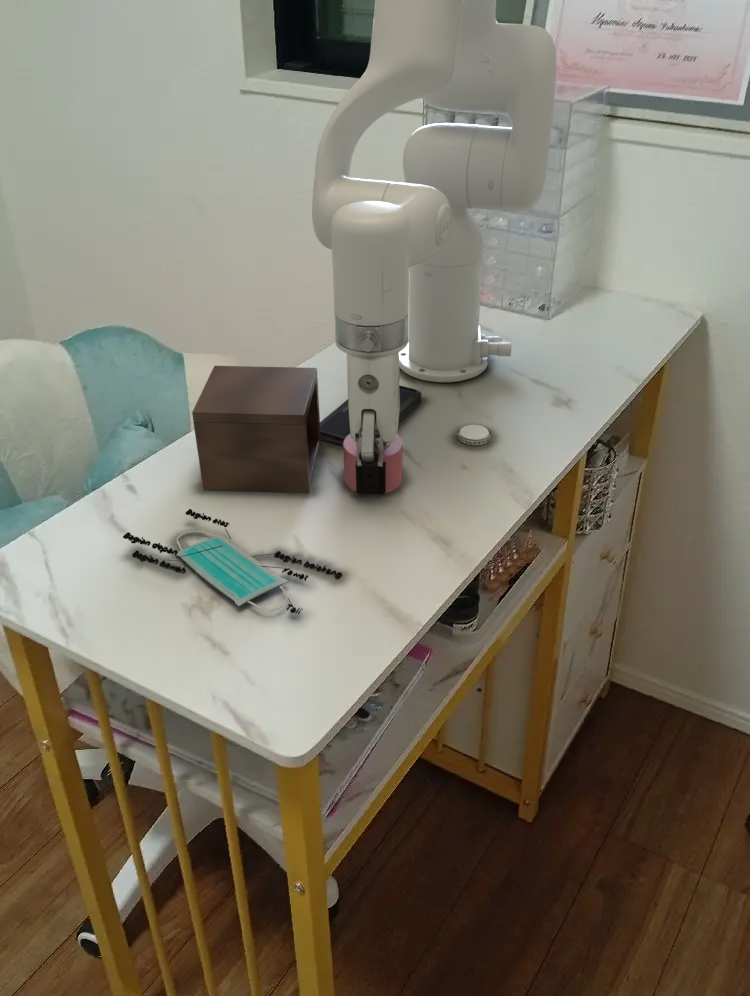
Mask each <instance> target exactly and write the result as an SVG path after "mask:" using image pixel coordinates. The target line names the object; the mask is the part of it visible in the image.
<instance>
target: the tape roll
mask: <svg viewBox="0 0 750 996" xmlns="http://www.w3.org/2000/svg"><path fill="white" fill-rule="evenodd" d="M374 436H376V437H380V433H379V431H375V435H374ZM403 443H404V441H403V438H402V437H401V435H399V434H398V433H397V438H396V440H395V441H394V442H392V443H390V442H384V441H383V462H386V491H385V494H390V493H391V492H393V491H395V490H397V489H398V488H399V487H400V486H401V485H402V482H403V468H404V467H403V465H404V464H403V463H404V462H403V459H404V458H403V457H404V456H403V450H404V446H403V445H404V444H403ZM342 450H343V474H344V475H343V478H344V483H345V485H346V487H348V488H349V489H350V490H351V491H352V492H355V493H357V492H356V461H357V441H356V442H355V441H354V440H353V439H352V438H351V434H349V435H348V436H347V437H346V438H345V440H344V442H343V446H342ZM374 451H377V454H378V443H374ZM385 494H384V495H385ZM364 495H366V496H371V495H370V494H364Z"/></svg>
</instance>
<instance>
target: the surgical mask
mask: <svg viewBox="0 0 750 996" xmlns="http://www.w3.org/2000/svg"><path fill="white" fill-rule="evenodd" d="M185 515H186V516H190V517H192V518H193V519H194V520H198V519H201V521H206V522H207V521H208V522H210V521H211V520H212V524H217V525H218V526H222V527H224V529H225V532H226V533H227V535H228V537H229V538H227V537H225V535H224V534H222V533H221V534H219V535H217V534H214V533H212V532H210V531H206V530H187V531H185V532H182V533H181V534H179V535H178V536H177V537H176V545H177V546H178V548H179V550H177V549H173V548H171V547H170V548H168V546H163V545H162V544H161V542H159V543H157V542H156V543H153V544H152V543H151V541H150V540H146V538H144V537H143V536H141V538H140V537H139V536H135V535H133V534H131V532H129V531H127V532H126V533H125V534H124V535H123V536H122V538H123V539H125V540H127V539H128V541H130V543H131V544H133V545H134V544H136V543H137V544H140V545H141V546H143V545H144V546H147V547H149V546H150V545H151V546H152V549H153V550H156V549H157V551H159V553H160V554H161V553H167V554H169V555H174V556H176V557H179V558H180V559H181V562H183V563H185V564H187V566H188V567H190V569H192V570H193V571H194V573H196V574H197V575H199V576H200V577H201V578H202V579H203V580H204V581H205V582H207V583H209V585H211V586H212V587H213V588H215V589H216V590H217V591H219V593H221V594H223V596H225V597H226V598H228V599H229V600H231V601H233V602H234V604H235V605H236V606H238V607H240V606H242V605H243V604H247V603H248V604H250V605H252V606H253V607H255V608H256V609H258V610H260V611H264V612H274V611H277V610H279V609H281V608H282V607H283V606H284V605H285V604H286V603H287V601H288V602H289V603H288V605H287V608H286V611H287V612H288V611H289V613H291V614H297V615H298V616H299V615H300V613H301V612H302V611H303V607H301V608H300V607H298V608H296V607H295V606H294V605H293V604H292V602H291V600H290V599H289V595H288V593H287V591H286V590H285V589H284V587H283V586H282V585H284V584H287V583H288V582H289V580H287V579H286V578H283V577H281V576H280V575H279V574H277V573H275V572H274V571H273V570H272V569H270V568H269V566H266V565H264V564H262V563H261V562H260V561H258V560H257V559H256V558H254V557H256V555H250V554H249V553H247V552H246V551H245V550H243V549H242V548H241V547H240V546H238V545H237V544H235V543H234V542H232V541H231V539H232V538H231V536H230V534H229V532H228V530H227V528H228V526H230V523H229V522H227V521H225V520H222V519H218V518H214V519H212V516H207V515H206V514H205V513H204V512H203V513H200V512H195V511H193V509H191V508H188V509H187V510H186V511H185ZM190 533H202V534H207V535H209V536H212V537H211V538H207V539H205V540H203V541H200V542H197V543H196V544H193V545H190V546H188V547H185V548H184V549H183V547H182V545H181V543H180V542H179V538H180V537H181V536H183V535H185V534H190ZM269 555H271V553H266V554H265V556H269ZM272 555H273V556H274V558H279V559H280V560H282V562H283V563H287V562H291V563H293V564H295V563H296V565H297V564H299V565H302V563H303V560H302V559H298V558H297V557H295V555H292V557H291V556H290V555H285V554H284V553H282V552H281V551H280V550H277V551H276V552H273V553H272ZM262 556H263V557H264V554H259V555H257V557H262ZM131 557H133V558H137V559H139V561H140V562H149V563H152V564H155V565H157V564H158V565H159V567H164V568H165V569H169V570H172V571H175V572H176V573H179V574H180V573H182V574H185V573H186V571H187V570H186V567H185V566H183V567H181V566H178V565H175V564H171V563H170V562H166V560H165V559H163V560H162V561H161V562H160V561H159V559H158V558H154V557H153V556H152V554H149V556H148V555H146V554H143V553H141V552H140V551H139V550H138V549H137V550H135V551H134V552H133V553H132V554H131ZM169 561H172V562H178V560H175V559H169ZM159 562H160V563H159ZM303 567H305V568H309V569H310V570H316V571H317V572H321V573H322V572H325V574H326V575H330V576H331V575H333V576H334V579H336V580H339V579H340V578H342V577H343V572H340V571H337V570H332V569H331V568H327V567H326V565H323V567H322V566H321V565H319V563H317V564H315V563H311V562H309V560H306V561H305V562H304V564H303ZM271 568H273V569H281V567H280V566H279V567H278V566H271ZM284 573H285V574H286V575H287V576H292V577H295V578H297V579H299V580H303V581H304V582H306V581H307V579H308V578H310V577H309V574H306V575H305V574H304V573H298V571H297V572H295V571H293V570H292V569H291V567H288V568H287V567H284V568H283V570H282V574H284ZM277 588H280V590H282V592H283V593H284V594H285V600H284V602H283V603H282V604H280V605H279V606H277V607H276V608H271V609H265V608H262V607H260V606H258V605H257V604H256V603H254V602H252V601H253V600H254V599H257V598H259V597H260V596H263V595H264V594H266V593H269V592H270V591H272V590H274V589H277Z"/></svg>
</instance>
